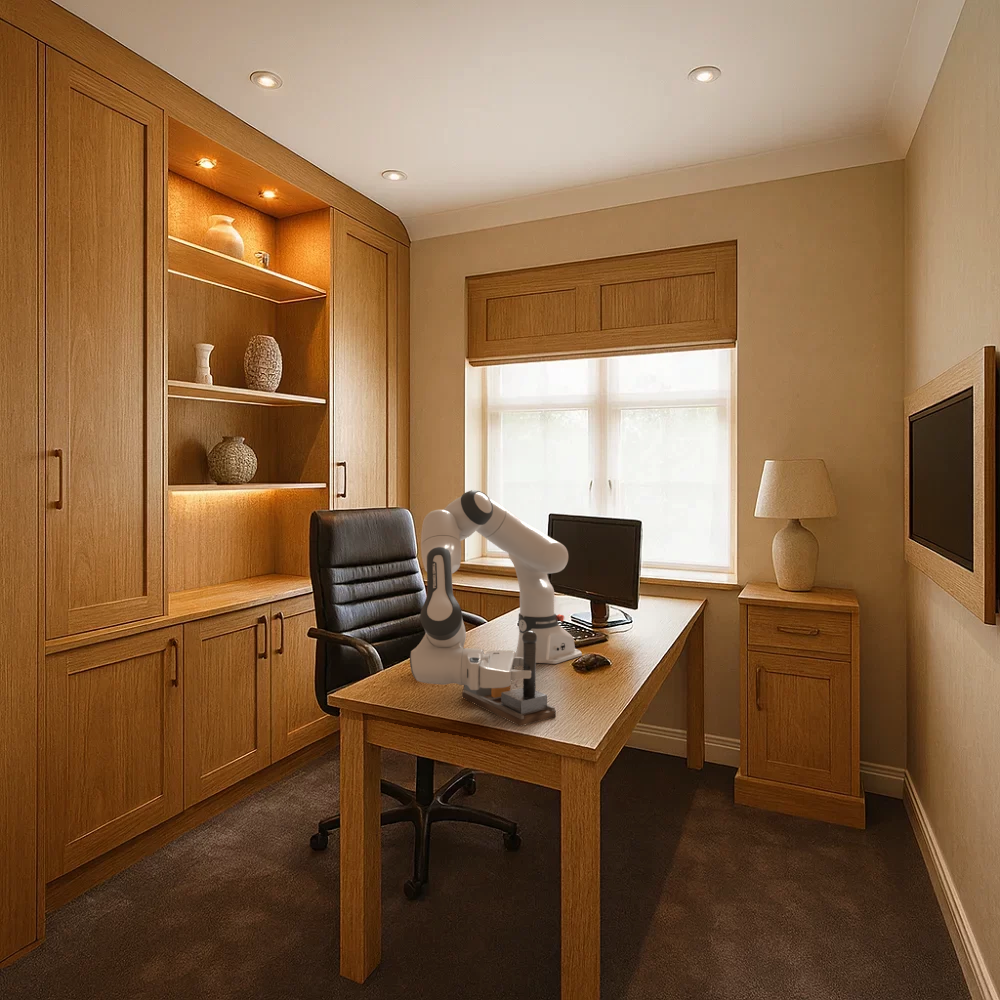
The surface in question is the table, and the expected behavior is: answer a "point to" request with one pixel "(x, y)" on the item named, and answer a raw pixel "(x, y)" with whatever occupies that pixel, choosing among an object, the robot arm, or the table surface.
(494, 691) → the button
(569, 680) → the table surface
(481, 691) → the gauge cabinet
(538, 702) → the carriage
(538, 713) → the rail board
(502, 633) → the table surface
